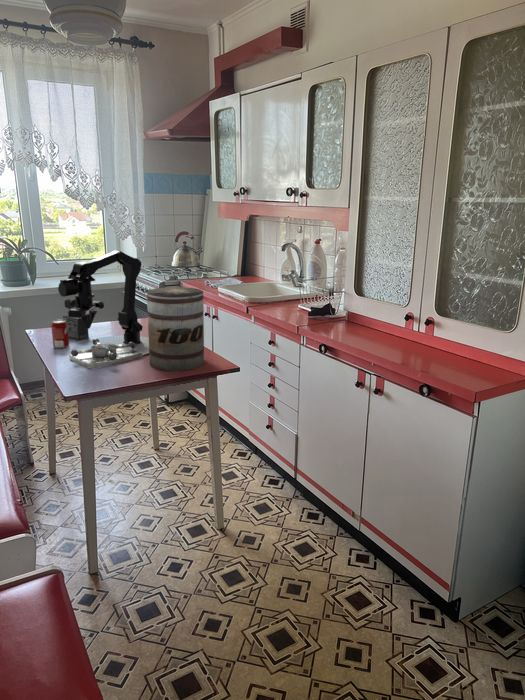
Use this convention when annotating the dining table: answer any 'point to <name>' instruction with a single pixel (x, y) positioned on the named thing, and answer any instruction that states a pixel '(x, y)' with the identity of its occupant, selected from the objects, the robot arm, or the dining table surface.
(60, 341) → the soda can
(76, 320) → the small box
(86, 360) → the stand
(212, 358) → the dining table surface
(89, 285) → the robot arm
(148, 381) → the dining table surface
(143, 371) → the dining table surface
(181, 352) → the barrel
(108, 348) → the capstan
